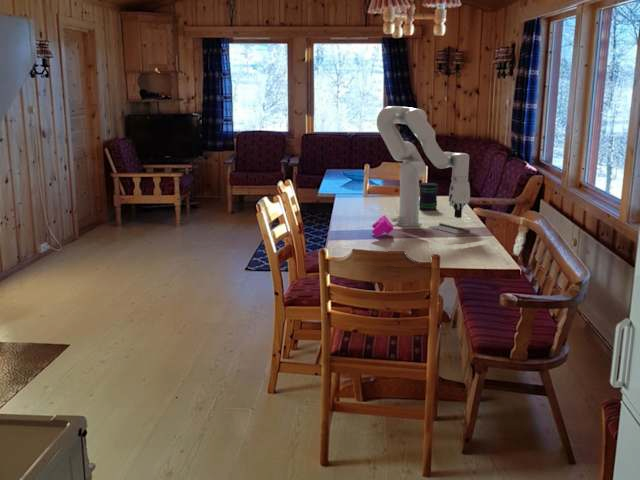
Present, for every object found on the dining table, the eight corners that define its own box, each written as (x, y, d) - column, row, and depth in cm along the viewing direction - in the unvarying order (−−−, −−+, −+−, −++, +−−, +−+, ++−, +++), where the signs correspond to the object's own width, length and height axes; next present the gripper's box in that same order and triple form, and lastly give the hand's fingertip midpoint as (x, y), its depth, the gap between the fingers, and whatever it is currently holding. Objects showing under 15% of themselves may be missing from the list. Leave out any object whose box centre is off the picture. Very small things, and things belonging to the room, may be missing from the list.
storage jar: (423, 212, 355) (424, 185, 352) (416, 209, 364) (417, 182, 361) (439, 211, 358) (441, 184, 354) (432, 208, 367) (433, 182, 364)
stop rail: (468, 232, 301) (468, 230, 300) (439, 225, 317) (439, 223, 317) (470, 232, 301) (470, 229, 301) (440, 225, 318) (440, 223, 317)
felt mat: (455, 234, 297) (455, 233, 297) (429, 227, 312) (429, 226, 312) (466, 232, 301) (466, 231, 301) (439, 226, 316) (439, 225, 316)
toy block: (392, 224, 302) (380, 235, 303) (384, 215, 301) (372, 225, 302) (393, 231, 287) (381, 242, 289) (384, 220, 286) (371, 231, 288)
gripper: (453, 181, 298) (451, 220, 302) (477, 179, 306) (474, 217, 310) (442, 179, 304) (440, 217, 308) (465, 177, 312) (463, 214, 316)
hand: (457, 217), depth 309 cm, fingers closed
